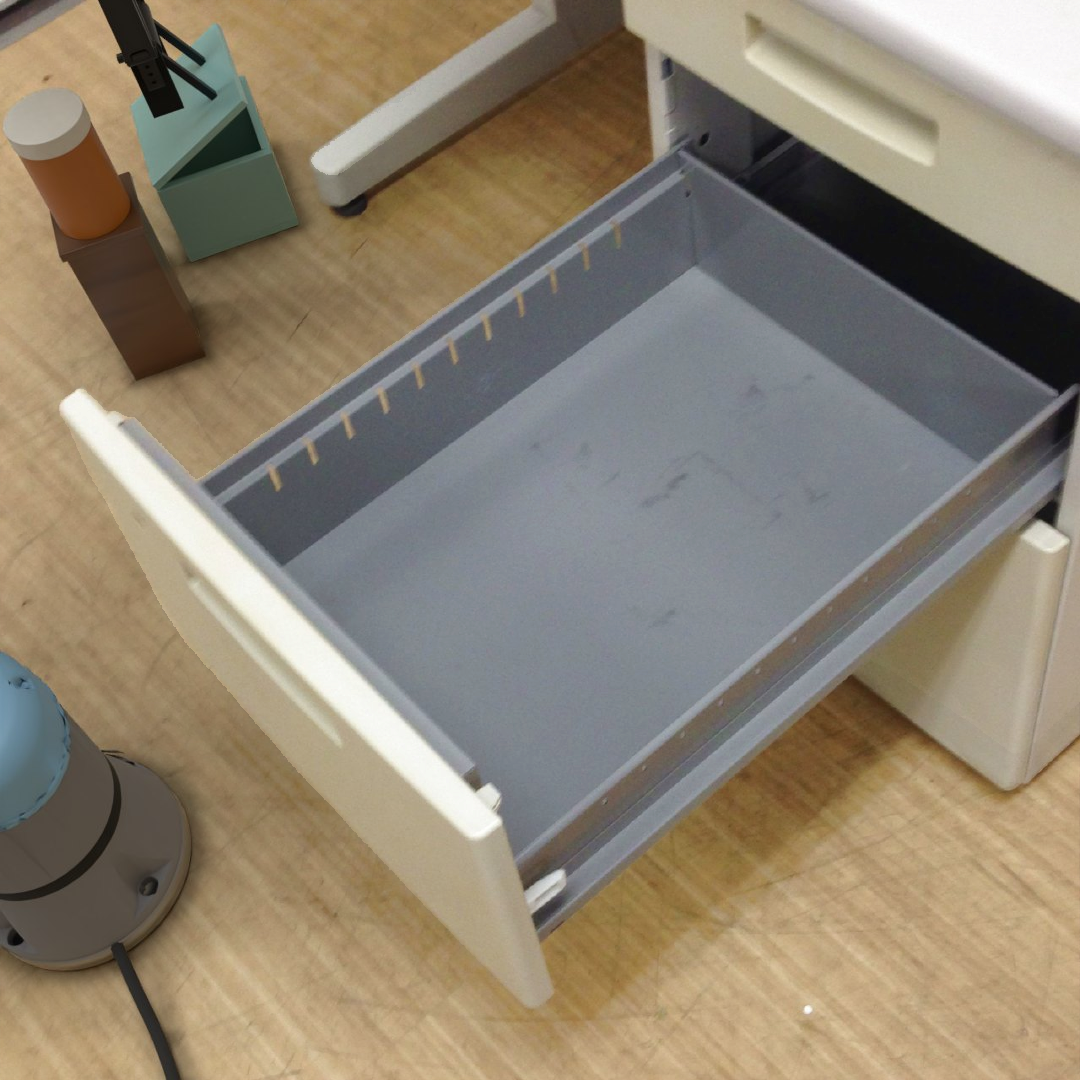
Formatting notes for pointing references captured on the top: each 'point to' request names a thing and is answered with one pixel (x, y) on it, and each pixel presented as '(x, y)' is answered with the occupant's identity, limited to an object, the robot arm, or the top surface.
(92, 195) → the amber jar
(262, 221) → the teal open box
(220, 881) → the top surface
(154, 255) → the plinth
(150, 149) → the teal box lid
